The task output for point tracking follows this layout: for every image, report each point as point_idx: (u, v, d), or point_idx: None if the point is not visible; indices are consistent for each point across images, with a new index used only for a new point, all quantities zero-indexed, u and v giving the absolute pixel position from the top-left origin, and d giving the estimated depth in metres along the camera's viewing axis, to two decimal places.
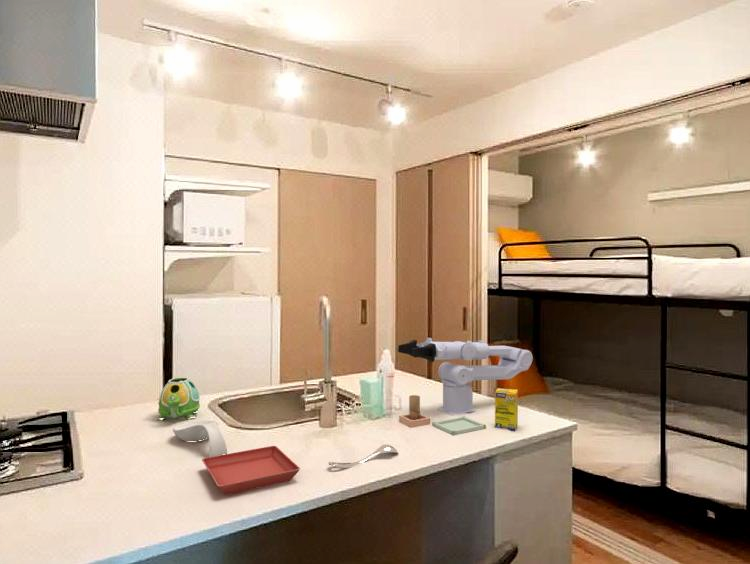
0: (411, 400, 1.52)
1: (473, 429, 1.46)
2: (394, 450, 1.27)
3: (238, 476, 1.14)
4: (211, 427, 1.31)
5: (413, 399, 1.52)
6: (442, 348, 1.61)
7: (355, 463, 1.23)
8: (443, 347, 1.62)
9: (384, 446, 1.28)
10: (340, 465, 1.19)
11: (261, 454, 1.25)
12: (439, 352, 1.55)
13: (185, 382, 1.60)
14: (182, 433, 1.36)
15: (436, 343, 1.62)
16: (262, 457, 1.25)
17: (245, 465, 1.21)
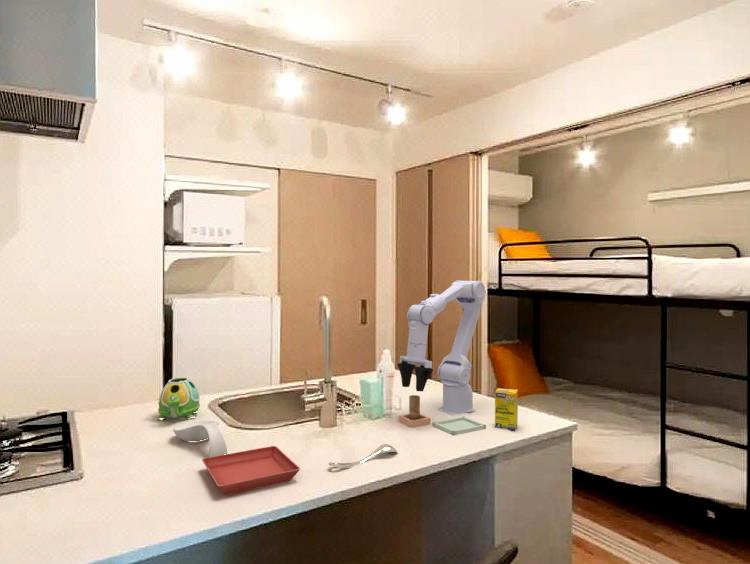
0: (411, 400, 1.52)
1: (473, 429, 1.46)
2: (393, 450, 1.27)
3: (238, 476, 1.14)
4: (211, 427, 1.31)
5: (413, 399, 1.52)
6: (418, 348, 1.52)
7: (355, 463, 1.22)
8: (417, 347, 1.52)
9: (383, 446, 1.28)
10: (341, 465, 1.19)
11: (261, 455, 1.25)
12: (428, 366, 1.48)
13: (185, 382, 1.60)
14: (183, 433, 1.36)
15: (412, 353, 1.52)
16: (262, 457, 1.25)
17: (245, 465, 1.21)
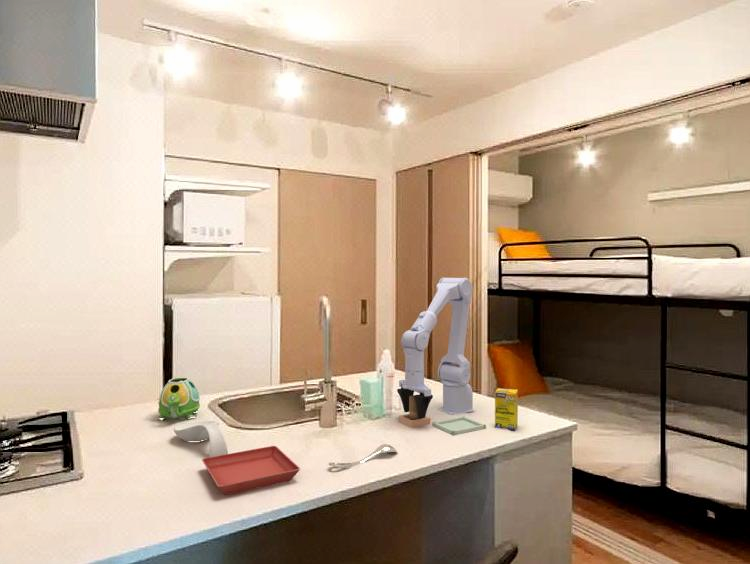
0: (411, 400, 1.52)
1: (473, 429, 1.46)
2: (393, 450, 1.27)
3: (238, 476, 1.14)
4: (212, 427, 1.31)
5: (413, 399, 1.52)
6: (416, 376, 1.51)
7: (355, 463, 1.22)
8: (415, 374, 1.51)
9: (383, 446, 1.28)
10: (340, 465, 1.19)
11: (261, 455, 1.25)
12: (427, 394, 1.47)
13: (185, 382, 1.60)
14: (183, 434, 1.36)
15: (410, 381, 1.51)
16: (262, 457, 1.25)
17: (245, 465, 1.21)
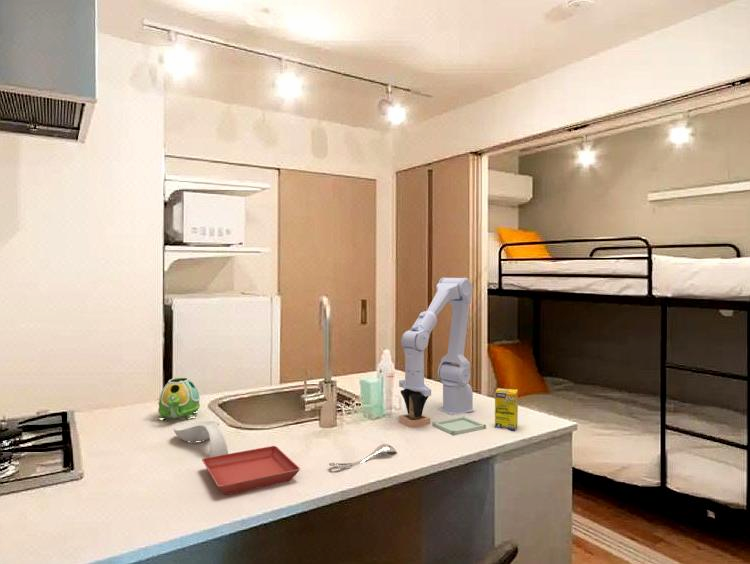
0: (411, 400, 1.52)
1: (473, 429, 1.46)
2: (393, 449, 1.28)
3: (238, 476, 1.14)
4: (212, 428, 1.31)
5: None
6: (416, 376, 1.51)
7: (355, 463, 1.22)
8: (415, 374, 1.51)
9: (383, 446, 1.28)
10: (341, 465, 1.19)
11: (261, 455, 1.25)
12: (427, 395, 1.47)
13: (185, 382, 1.60)
14: (183, 434, 1.36)
15: (410, 381, 1.51)
16: (262, 457, 1.25)
17: (245, 465, 1.21)
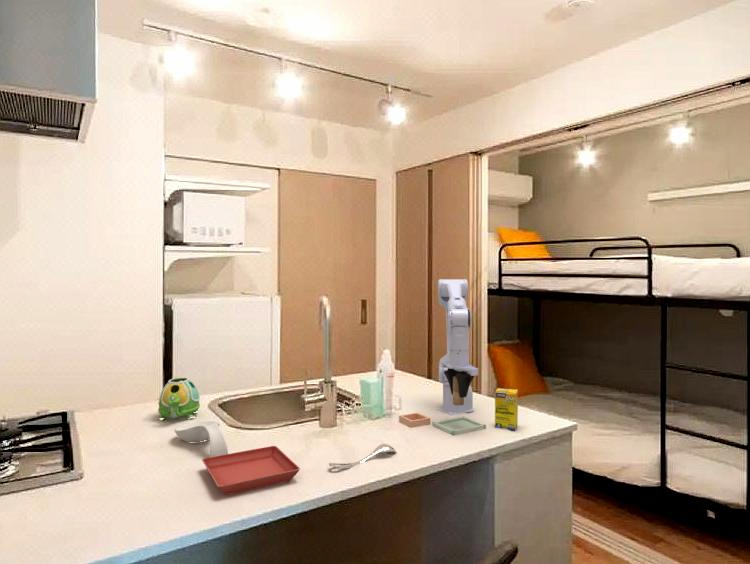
0: (455, 380, 1.48)
1: (473, 429, 1.46)
2: (392, 449, 1.28)
3: (238, 476, 1.14)
4: (212, 428, 1.30)
5: None
6: (462, 355, 1.46)
7: (355, 463, 1.22)
8: (460, 354, 1.46)
9: (382, 445, 1.28)
10: (341, 466, 1.19)
11: (261, 455, 1.25)
12: (474, 374, 1.43)
13: (185, 382, 1.60)
14: (184, 434, 1.35)
15: (455, 360, 1.47)
16: (262, 457, 1.25)
17: (246, 465, 1.21)
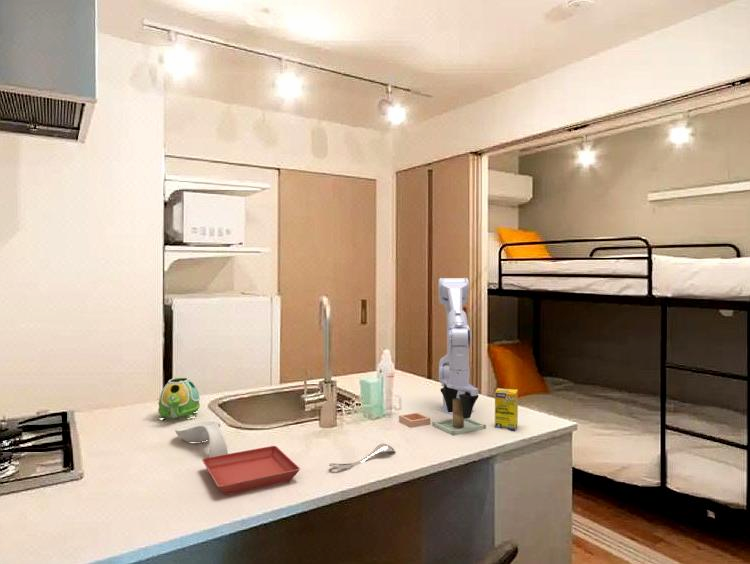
0: (454, 403, 1.48)
1: (473, 429, 1.46)
2: (392, 449, 1.28)
3: (238, 476, 1.14)
4: (212, 428, 1.30)
5: (456, 402, 1.48)
6: (461, 375, 1.46)
7: (355, 463, 1.22)
8: (460, 373, 1.46)
9: (382, 445, 1.28)
10: (341, 466, 1.19)
11: (261, 455, 1.25)
12: (474, 394, 1.43)
13: (185, 382, 1.60)
14: (184, 434, 1.35)
15: (455, 380, 1.47)
16: (262, 457, 1.25)
17: (246, 465, 1.21)
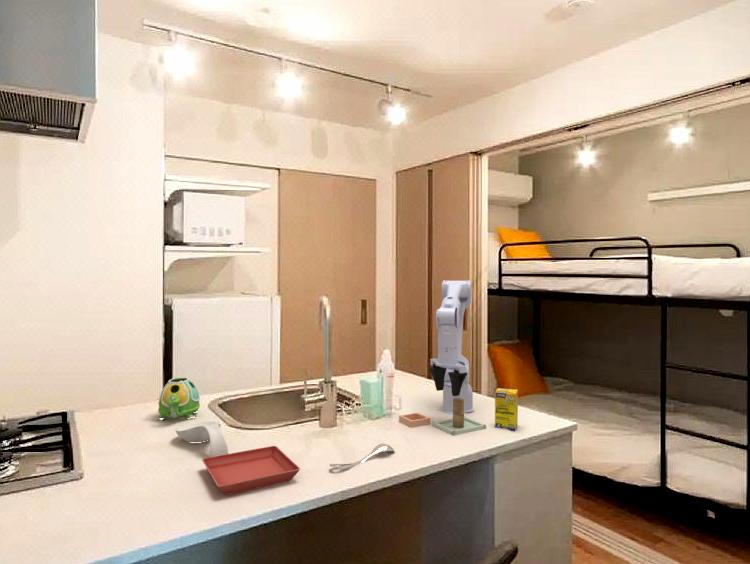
0: (455, 403, 1.48)
1: (473, 429, 1.46)
2: (391, 449, 1.28)
3: (238, 476, 1.14)
4: (212, 428, 1.30)
5: (457, 402, 1.48)
6: (450, 353, 1.48)
7: (355, 463, 1.22)
8: (449, 351, 1.48)
9: (381, 445, 1.28)
10: (342, 466, 1.19)
11: (261, 455, 1.25)
12: (462, 371, 1.45)
13: (185, 382, 1.60)
14: (184, 434, 1.35)
15: (444, 358, 1.49)
16: (262, 457, 1.25)
17: (246, 465, 1.21)
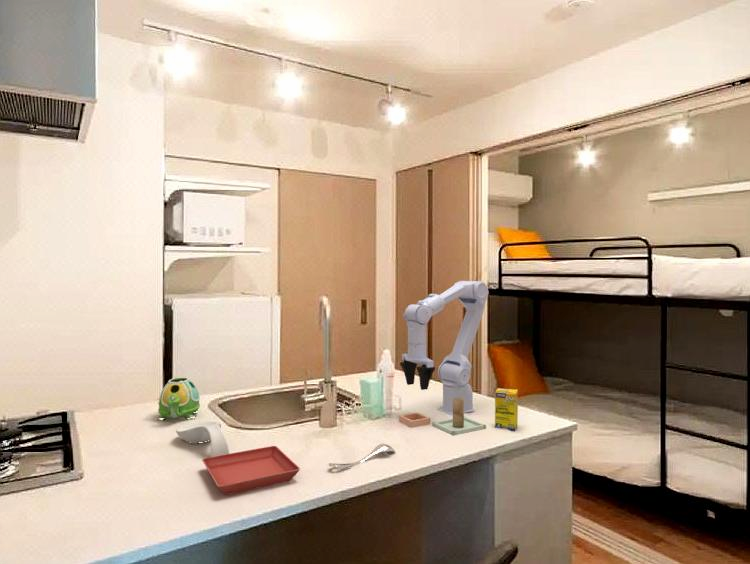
0: (455, 403, 1.48)
1: (473, 429, 1.46)
2: (391, 449, 1.28)
3: (238, 476, 1.14)
4: (213, 429, 1.30)
5: (457, 402, 1.48)
6: (419, 348, 1.54)
7: (354, 463, 1.22)
8: (418, 347, 1.54)
9: (381, 445, 1.28)
10: (341, 466, 1.19)
11: (261, 455, 1.25)
12: (429, 366, 1.51)
13: (185, 382, 1.60)
14: (185, 435, 1.35)
15: (413, 353, 1.55)
16: (262, 457, 1.25)
17: (246, 465, 1.21)
